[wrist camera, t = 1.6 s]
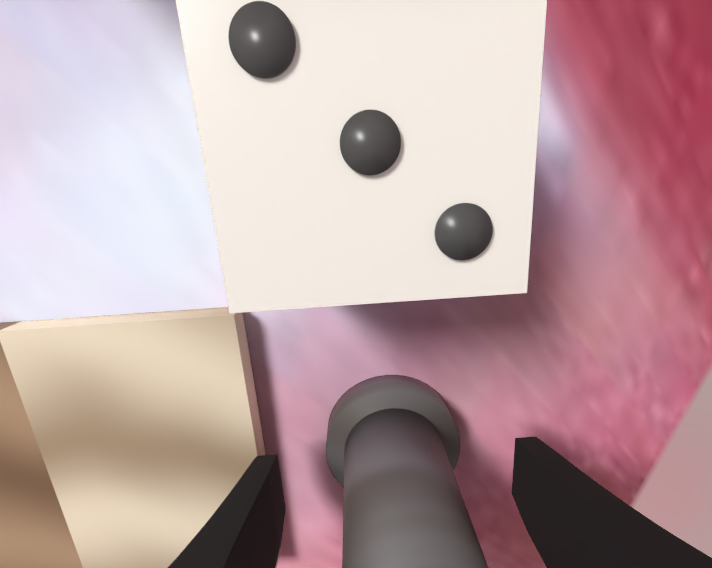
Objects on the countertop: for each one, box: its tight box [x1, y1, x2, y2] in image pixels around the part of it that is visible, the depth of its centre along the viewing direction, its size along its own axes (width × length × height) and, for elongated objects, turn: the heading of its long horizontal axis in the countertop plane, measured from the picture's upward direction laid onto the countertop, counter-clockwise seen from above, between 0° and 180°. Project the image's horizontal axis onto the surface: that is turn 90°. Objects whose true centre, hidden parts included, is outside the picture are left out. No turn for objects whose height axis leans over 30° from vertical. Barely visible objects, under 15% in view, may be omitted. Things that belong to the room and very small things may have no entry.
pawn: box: [326, 375, 488, 568], centre depth 8 cm, size 4×4×9 cm
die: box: [176, 0, 547, 313], centre depth 8 cm, size 5×5×5 cm
